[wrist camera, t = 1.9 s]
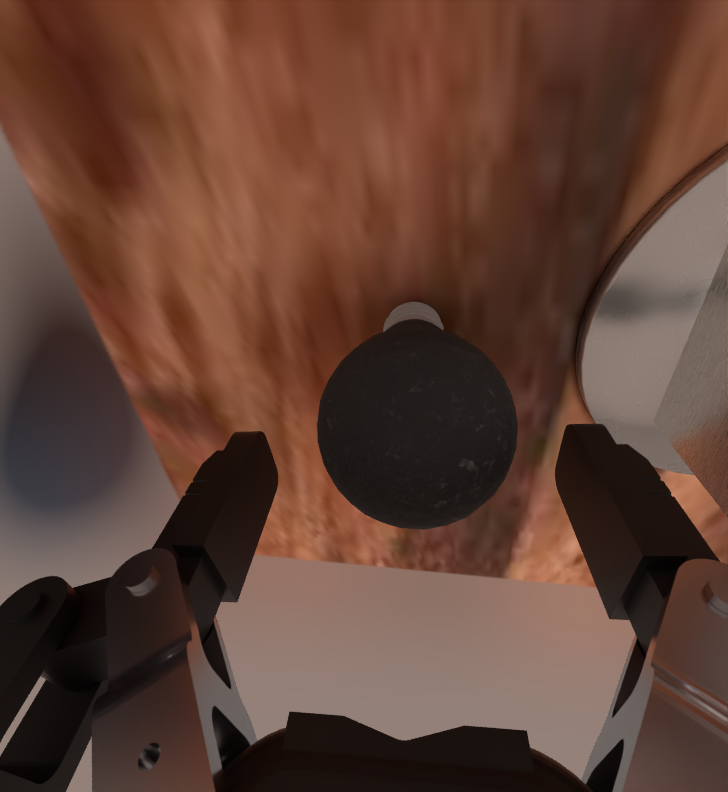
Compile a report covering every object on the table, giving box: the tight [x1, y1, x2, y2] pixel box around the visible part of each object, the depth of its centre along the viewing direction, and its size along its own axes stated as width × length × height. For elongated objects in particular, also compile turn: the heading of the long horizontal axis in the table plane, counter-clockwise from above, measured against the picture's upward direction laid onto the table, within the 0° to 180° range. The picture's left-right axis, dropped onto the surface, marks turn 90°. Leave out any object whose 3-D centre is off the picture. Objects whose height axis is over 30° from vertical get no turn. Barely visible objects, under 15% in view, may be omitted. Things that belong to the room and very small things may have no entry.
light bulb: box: [317, 302, 517, 529], centre depth 13 cm, size 6×6×10 cm
